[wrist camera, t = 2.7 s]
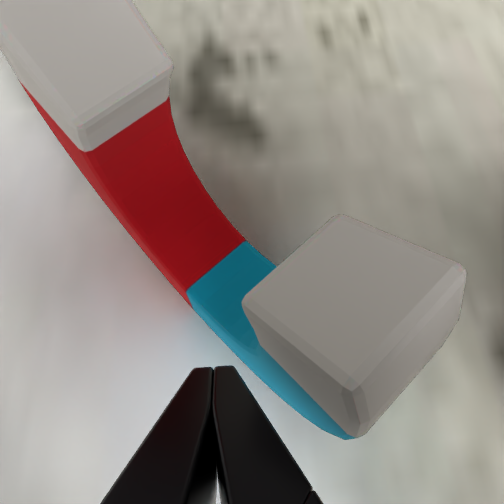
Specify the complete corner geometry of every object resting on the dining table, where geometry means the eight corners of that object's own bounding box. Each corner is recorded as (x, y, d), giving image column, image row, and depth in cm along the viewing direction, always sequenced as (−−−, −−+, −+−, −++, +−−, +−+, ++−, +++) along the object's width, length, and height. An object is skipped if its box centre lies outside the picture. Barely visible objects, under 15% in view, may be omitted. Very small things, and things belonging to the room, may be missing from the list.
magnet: (352, 374, 15) (536, 320, 6) (301, 429, 14) (417, 469, 5) (155, 172, 18) (67, -82, 9) (104, 210, 17) (-54, -23, 8)
